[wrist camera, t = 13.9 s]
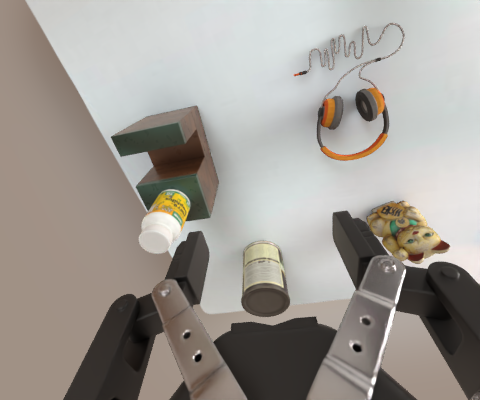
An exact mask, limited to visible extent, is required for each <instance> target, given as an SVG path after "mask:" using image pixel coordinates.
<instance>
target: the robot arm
mask: <svg viewBox="0 0 480 400" xmlns="http://www.w3.org/2000/svg"><path fill="white" fill-rule="evenodd" d="M333 239H334V242H335V245H336V247H337V249H338V251H339V253H340V256H341V258H342V260H343V262H344V264H345V266H346V269H347V271H348V273H349V275H350V277H351V279H352V281H353V284H354V286H355V288H356V290H355V292H354V294H353V296H352V298H351V301H350V303H349V305H348V308H347V310H346V312H345V315H344V317H343V319H342V322H341V324H340V326H339V329H338V331H337V330H335V329H333V328H331V327H329V326H326V325H322V324H318V323H317V319H316V317H305V318H294V319H291V320H289V321H286V322H283V323H280V324H277V325H274V326H271V325H266V324H260V323H255V322H246V323H245V322H244V323H232V324H231V331H229V332H227V333H225V334H223V335H221V336H220V337H219V338H217V339H216V340H215V341H214V342H213V341H212V340H211V338H210V336H209V335H208V333H207V331H206V329H205V328H204V326H203V324H202V323H201V322H200V319H199V318H198V316H197V314H196V313H195V311H194V309H193V305H195V304H200V301H201V296H202V291H203V286H204V282H205V277H206V272H207V267H208V262H209V249H208V246H207V243H206V241H205V238H204V235H203V233H202V231H197V232H190V233H189V234H188V237H187V240H186V241H182V242H181V244H180V245H179V246H178V247H177V249H176V251H175V254H174V257H173V259H172V262H171V265H170V267H169V270H168V272H167V275H166V277H165V280H164V281H162V282H160V283H159V284H157V285H156V286H155V288H154V289H153V291H152V293H150V294H148V295H146V296H143V297H140V298H138V299H137V298H136V297H135V296H134V295H132V294H126V295H123V296H121V297H120V298H118V299H117V300H116V301H115V302H114V303H113V304H112V305H111V307H110V308H109V310H108V312H107V314H106V316H105V318H104V320H103V322H102V324H101V326H100V328H99V330H98V332H97V334H96V336H95V338H94V340H93V342H92V344H91V346H90V348H89V350H88V352H87V354H86V356H85V358H84V360H83V362H82V364H81V366H80V368H79V370H78V372H77V374H76V376H75V378H74V380H73V382H72V384H71V386H70V388H69V389H68V392H67V393H66V395H65V397H64V399H63V400H138V396H139V393H140V389H141V386H142V382H143V378H144V375H145V372H146V368H147V365H148V361H149V358H150V354H151V351H152V347H153V344H154V340H155V336H156V335H157V334H160V333H162V332H164V333H165V335H166V337H167V340H168V342H169V345H170V347H171V350H172V352H173V354H174V357H175V359H176V362H177V364H178V367H179V369H180V371H181V374H182V376H183V379H184V381H183V383H182V384H181V385H180V386H179V388H178V389H177V390H176V392H175V393H174V394H173V396H172V397H171V398H170V400H417V399H416V398H415V397H414V396H412V395H411V394H410V393H409V392H408V391H407V390H406V389H404V388H403V387H402V386H401V385H400V384H399V383H397V381H395V380H394V379H393V378H392V377H391V376H390V375H389V374H387V373H386V372H385V371H384V370H383V369H382V368H381V365H382V361H383V358H384V354H385V350H386V346H387V342H388V338H389V334H390V331H391V327H392V323H393V320H394V316H395V312H396V311H400V312H405V313H410V314H415V315H419V316H420V318H421V320H422V321H423V323H424V325H425V327H426V328H427V330H428V332H429V333H430V335H431V337H432V338H433V340H434V342H435V344H436V345H437V347H438V349H439V350H440V352H441V354H442V356H443V357H444V359H445V361H446V362H447V364H448V366H449V367H450V369H451V371H452V373H453V374H454V376H455V378H456V379H457V381H458V383H459V385H460V386H461V388H462V390H463V391H464V393H465V395H466V397H467V398H468V400H480V285H479V284H478V283H477V282H476V281H475V280H474V279H473V278H472V277H471V276H470V274H469V273H468V272H467V271H465V270H464V269H463V268H461V267H459V266H457V265H455V264H452V263H448V262H434V263H432V264H430V265H429V267H428V269H423V268H416V267H409V266H405V265H404V264H403V263H402V262H401V261H400V260H398V259H396V258H394V257H392V256H389V255H388V253H387V252H386V250H385V249H384V248H383V246H382V245H381V243H380V242H379V240H378V239H377V238H376V236H374V233H373V232H372V231H371V229H370V228H369V226H368V225H367V224H366V223H365V222H364V221H362V220H361V219H359V218H354V219H352V217H351V216H350V214H349V213H348V211H341V212H334V213H333Z"/></svg>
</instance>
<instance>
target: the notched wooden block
mask: <svg viewBox="0 0 480 400" xmlns="http://www.w3.org/2000/svg"><path fill="white" fill-rule="evenodd" d="M111 138H112V140H113V142H114V144H115V146H116V148H117V150H118V152H119V154H120V156H121V157H122V156H127V155H132V154H137V153H142V152H148V154H149V156H150V159H151V161H152V163H153V168H152V169H151V170H150V171H149V172H148V173H147V174H146V175H145V177H144V178H143V179H142V180H141V181H140V182H139V183H138V185H137V186H136V188H137V190H138V192H139V194H140V196H141V198H142V200H143V202H144V204H145V206H146V208H147V210H148V211H149V209H150V208H151V206H152V205H153V203H154V202H155V200H156V199H157V197H158V195H159V194H160V193H161V192H163V191H164V190H168V189H173V190H178V191H181V192H182V193H184V194H185V195H186V196H187V197H188V199H189V201H190V210H189V212H188V215H187V218H186V220H185V221H192V220H199V219H205V218H210V216H211V212H212V208H213V204H214V200H215V196H216V192H217V188H218V184H219V181H218V178H217V174H216V171H215V167H214V164H213V160H212V157H211V153H210V150H209V146H208V143H207V139H206V136H205V132H204V129H203V125H202V122H201V118H200V114H199V111H198V107H197V106H193V107H188V108H184V109H179V110H175V111H170V112H166V113H161V114H156V115H152V116H147V117H145V118H143V119H142V120H140V121H138V122H136V123H134V124H133V125H131V126H129V127H127V128H125V129H124V130H122V131H120V132H118V133H117V134H115V135H113V136H111Z"/></svg>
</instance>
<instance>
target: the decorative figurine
mask: <svg viewBox="0 0 480 400" xmlns="http://www.w3.org/2000/svg"><path fill="white" fill-rule="evenodd" d="M372 212H373V213H372V215H370V216H368V217H367V221H368V224H369V226H370V229H371V231H372V232H373V233H374V234H375V235H376V236H378V237H383V240H382V243H383V245H384V246H385V247H386V249H388V250H389V251H390V252H391V253H392V255H393V256H394V257H395V258H396V259H398V260H400V261H404V260H406V259H408V260H409V261H411V262H413V263H415V264H420V263H422V262H423V260H424V259H426V258H428V257H430V256H432V255H434V254H435V253H438V254H440V253H445V252H447V251H448V250H449V248H450V245H449V244H447V243H446V242H444V241H442V240H441V239H440V237H439V236H438V234H437V233H436V232H435V231H434V230H433V229H431V228H430V227H427V222H426V220H425V218H424V217H423V216H422V215H421V214H420V212H419V211H418V209H416V208H415V207H411V206H409V204H408V203H407V202H405V201H402V202H399V203H397V204H396V203H395V202H394V201H391V202H389V203H385V204H384V205H381V206H379V207H377V208H374V209H372Z"/></svg>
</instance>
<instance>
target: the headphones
mask: <svg viewBox="0 0 480 400" xmlns="http://www.w3.org/2000/svg"><path fill="white" fill-rule="evenodd" d="M389 25H396V26H398V27H399V28H400V29H401V31H402V34H403V39H402V43H401V45H400V47H399V48H398V50H396V51H395V52H394V53H392V54H391V55H389V56H386V57H383V58H377V59H375V60H371V61H368V62H365V63H362V64H360V65H358V66H356V67H354V68H353V69H351V70H350V71H349V72H347V73H346V74H345V75H344V76H343V77H342V78H341V79H340V80H339V81H338V83H337V85H336V86H335V88H334V89H333V90H331V91H330V92H329V93H328V94H327V95H326V96H325V98H324V99H323V101H322V104H321V108H319V111H318V122H317V139H318V143H319V145H320V147H321V151H322V152H323V153H324V154H326V155H327V156H328V157H330V158H333V159H336V160H344V161H346V160H354V159H359V158H362V157H365V156H367V155H369V154H371V153H373V152H374V151H376V150H377V149H378V148H379V147H380V146H381V145H382V144H383V143H384V141H385V140H386V138H387V136H388V135H387V132H388V129H389V116H388V111H387V108H386V105H385V102H384V96H383V94H382V93H380V91H379V90H378V88H377V87H376V85H375V84H374V83H373V82H371V81H370V80H367V79H365V78H362V77H361V76H360V73H361V71H362V69H363V68H364V67H365V66H367V65H369V64H371V63H373V62H377V61H380V60H382V59H385V58H388V57H390V56H392V55H394V54H395V53H396V52H398V51H399V49H400V48H401V46H402V44H403V42H404V37H405V35H404V31H403V29H402V27H401V26H400V25H398V24H396V23H390V24H388V25H387V26H386V27H385V28H384V30H383V32H382V34H381V36H380V38H379V40H378V41H377V42H376V43H374V44H371V42H370V39H369V35H368V29H367V26H364V27H363V29H362V53H361V56H360V57H357V56H356V45H355V42H354V41H352V42H351V43H350V45H349V54H348V56H347V55H346V41H345V36H344V35H340V36H339V39H338V40H339V48H338V52H336V45H335V39H334V38H332V40H331V50H332V57H333V68H332V69H331V68H330V60H329V52H328V49H325V50H324V56H325V64H324V65H323V64H322V55H321V51H320V50H319V49H318V48H315V49H312V50H311V51H310V54H309V64H310V68H309V70H308V71H303V72H300V73H298V74H294V76H297V75H303V74H306V73H308V72H309V71H310V69H311V52H312V51H314V50H318V51H319V53H320V59H321V66H322V67H325V65H326V51H327V56H328V66H329V70H333V69H334V65H335V63H334V53H333V45H332V41H333V40H334V51H335V53H336V54H338V53H339V51H340V37H341V36H343V38H344V49H345V56H346V57H349V56H350V47H351V44H352V43H354V56H355V58H356V59H360V58H361V57H362V55H363V41H364V28H366V33H367V39H368V42H369V44H370V45H372V46H373V45H376V44H377V43H378V42H379V41H380V39H381V37H382V35H383V33H384V31H385V30H386V28H387V27H388V26H389ZM364 64H366V65H364ZM362 65H364V66H363V67H362V68H361V70H360V71H359V78H361V79H363V80H365V81H368V82H370V83H371V84H372V85H373V86H374V87H375V88H376V89H375V88H370V89H367V90H366V89H362V90H360V91H359V92H357V94H356V99H355V100H356V106H357V109H358V111H359V113H360V115H361V116H362V117H363V119H365V120H366V121H369V122H370V121H372V120H374V119H376V118H377V115H379V114H380V113H383V118H384V128H383V132H382V133H381V134H380V135H379V137H378V139H377V140H376V141H375V142H374V143H373V144H372V145H371V146H370V147H369V148H367V149H366V150H364V151H362V152H359V153H356V154H352V155H339V154H335V153H333V152H331V151H330V150H328V149H327V148H326V147H325V146H323V144H322V142H321V138H320V125H322V126H324V127H328V128H329V129H330V130H334V129H336V128H337V127H338V125H339V124H340V121H341V118H342V113H343V100H342V98H341V97H340V96H334V97H333V98H332V99H326V97H327V96H328V95H329V94H330V93H331V92H332V91H334V90H335V89H336V87H337V86H338V84H339V82H340V81H341V80H342V79H343V78H344V77H345V76H346V75H347V74H348V73H350V72H351V71H352V70H354V69H355V68H357V67H359V66H362ZM325 99H326V100H325ZM324 100H325V101H324Z"/></svg>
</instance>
